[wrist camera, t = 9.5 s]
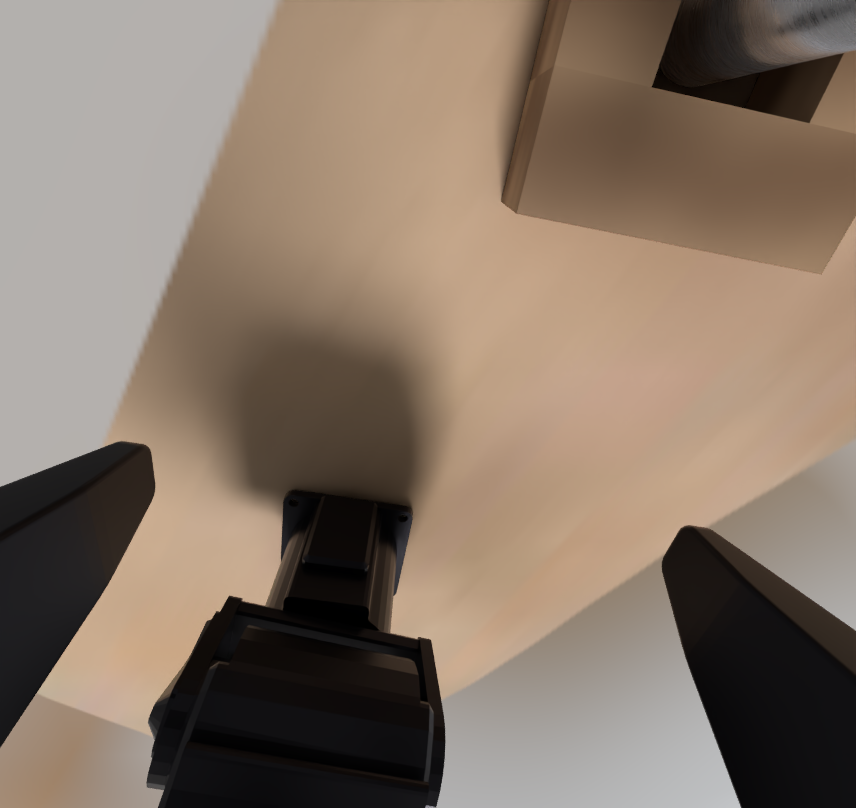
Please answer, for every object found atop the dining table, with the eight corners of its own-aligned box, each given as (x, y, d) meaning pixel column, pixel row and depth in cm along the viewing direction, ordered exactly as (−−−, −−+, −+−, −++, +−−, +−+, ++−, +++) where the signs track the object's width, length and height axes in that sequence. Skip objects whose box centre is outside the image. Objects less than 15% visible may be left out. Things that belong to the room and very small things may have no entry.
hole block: (754, 252, 18) (821, 274, 15) (501, 201, 17) (516, 213, 14) (989, -213, 12) (1176, -335, 9) (626, -324, 11) (698, -497, 8)
